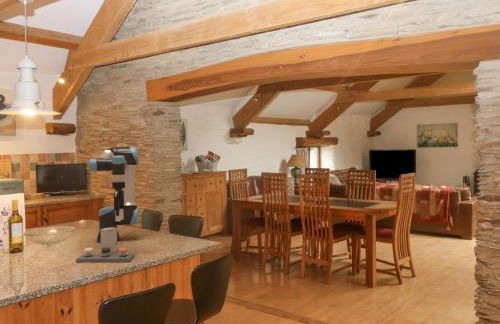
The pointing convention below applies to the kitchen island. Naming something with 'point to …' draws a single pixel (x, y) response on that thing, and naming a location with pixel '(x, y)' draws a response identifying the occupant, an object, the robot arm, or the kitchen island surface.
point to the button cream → (88, 251)
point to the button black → (105, 251)
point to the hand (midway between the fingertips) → (119, 220)
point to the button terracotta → (123, 251)
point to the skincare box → (109, 239)
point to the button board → (105, 258)
